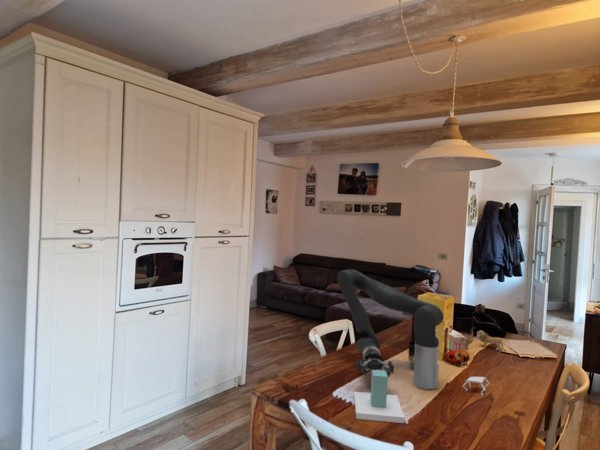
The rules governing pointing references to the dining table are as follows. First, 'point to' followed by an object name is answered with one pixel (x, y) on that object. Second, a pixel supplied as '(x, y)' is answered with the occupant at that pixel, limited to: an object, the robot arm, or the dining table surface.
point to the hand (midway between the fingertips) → (376, 373)
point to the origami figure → (477, 380)
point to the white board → (378, 409)
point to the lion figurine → (489, 340)
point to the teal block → (379, 388)
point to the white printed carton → (456, 341)
